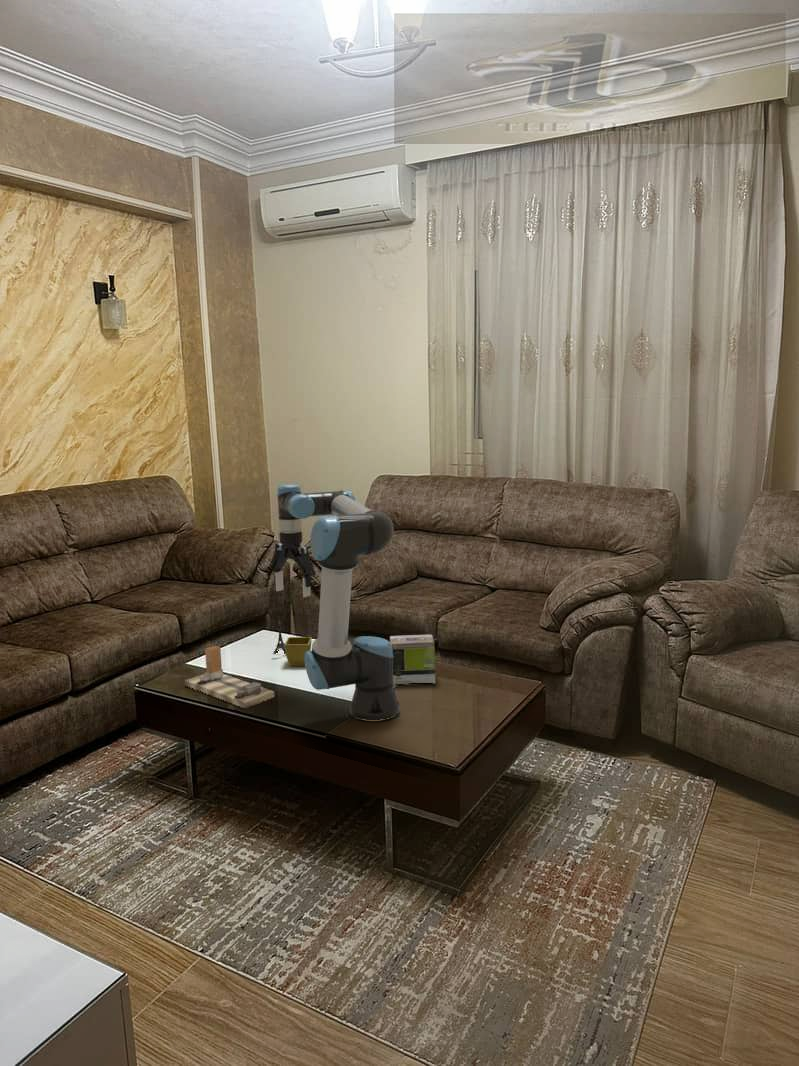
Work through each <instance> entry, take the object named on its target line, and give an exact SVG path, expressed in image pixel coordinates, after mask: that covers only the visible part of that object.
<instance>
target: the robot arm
mask: <svg viewBox="0 0 799 1066" xmlns="http://www.w3.org/2000/svg"><path fill="white" fill-rule="evenodd" d="M276 497H277V504H278V505H277V508H278V530H279V531H280V532H279V533H278V534H279V535H278V536H279V542H278V543H275V545H274V551H273V555H272V559H271V562H270V565H269V569H270V570H272V571H273V572H274V581H275V591H276V592H281V591H283V590H284V570H283V567H284V566H285V564H286V562H287V560H289V559H290V560H293V561H294V562H295V563H296V564H297V566H298V568H299V570H300V571H301V573H302V575H303V577H302V594H303V595H302V597H303V598H307V597H311V592H312V591H311V590H312V589H311V587H312V577H314V576H316V570H315V568H314V565H313V562H312V559H311V557H310V554H309V547H308V546H303V547H302V546H301V544H302V543H303V532H302V530H303V528H302V527H303V526H302V525H303V523H302V522H303V521H302V520H304V519H307V518H308V519H309V517H310V518H311V517H319V518H318V519H317V520H315V522H314V523H313V526H312V528H311V531H310V532H311V533H310V537H309V538H310V541H309V543H310V552H311V555H312V557H313V558H314V560H316V562H317V564H318V566H319V567H320V568H321V575H320V576H321V577H320V581H321V582H320V595H319V612H318V613H319V615H318V627H317V628H318V630H317V631H318V632H317V638H316V639H315V640H313V642H312V643H311V651H308V652H306V653H305V656H304V660H305V666H304V667H305V670H306V675H307V678H308V680H309V683H310V684H311V687H313V688H314V689H315V690H317V691H321V690H322V691H323V690H330V689H333V688H341V687H346V686H351V685H352V686H353V685H355V686H354V688H355V689H354V692H353V695H352V699H351V702H350V705H349V706H350V707H349V713H350V716H351V717H352V718H354V717H356V718H359V719H366V720H380V719H387V718H391V717H393V716H395V715H397V714H398V713H399V714H400V712H401V711H400V710H401V709H400V706H401V705H400V703H399V700H398V699H397V698H398V697H397V695H396V690H395V687H394V685H393V657H394V656H393V650H392V644H391V643H390V640H387V639H385V638H382V637H379V636H378V637H377V636H370V635H368V636H367V635H366V636H365V635H363V636H362V635H361V636H358V637H356V638H354V639H353V644H352V643H351V641H349V640H348V636H349V623H350V608H351V596H352V595H351V594H352V583H353V570H355V569H356V568H357V567H358V566H359V563H360V562H359V561H360V557H362V556H370V555H376V554H378V553H380V552H382V551H384V550H385V549H386V548H387V547H388V546H389V545H390V543H391V541H392V539H393V537H394V535H395V534H394V533H395V528H394V523H393V521H392V519H391V518H390V517H389V516H388V515H387V514H386V513H384V512H383V511H380V510H377V509H370V508H369V507H367V506H366V505H364V504H361V503H360V502H358V501H356V498H355V497H356V496H355V495H354V493H353V492H352V491H350V490H335V491H324V492H323V491H322V492H309V493H307V492H306V493H303V492H301V486H300V485H299V484H295V483H294V484H289V483H287V484H281V485H279V486H278V487H277V495H276ZM399 711H400V712H399ZM399 714H398V715H399ZM398 715H397V716H398Z"/></svg>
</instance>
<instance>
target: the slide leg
mask: <svg viewBox="0 0 799 1066" xmlns="http://www.w3.org/2000/svg"><path fill="white" fill-rule="evenodd" d="M204 650H205V651H204V652H205V653H204V654H205V669H206V671H205V672H204V674H205V675H206V676H204V675H203V674H199V676H200V682H201V683H202V682H204V680H207V679H208V680H211V681H212V680H215V679H218V678H221V677H223V674H224V670H223V667H222V653H221V650H222V649H221V647H220V646H217V645H212V646H209V647H205V648H204Z"/></svg>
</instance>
